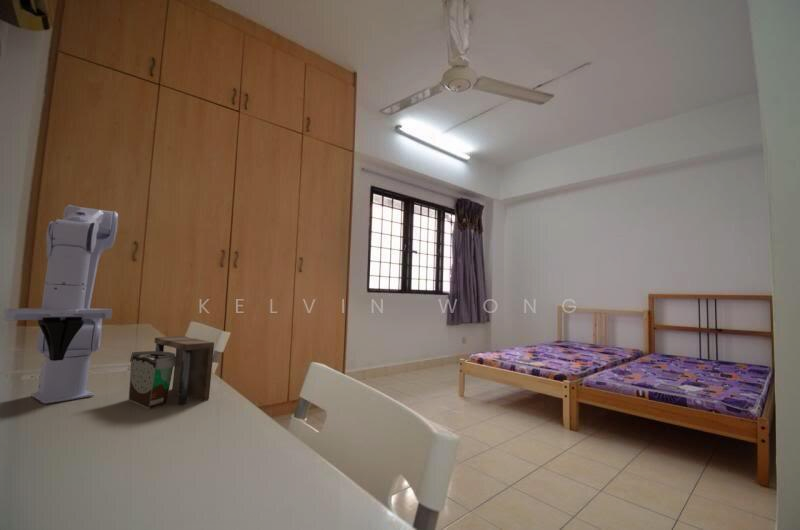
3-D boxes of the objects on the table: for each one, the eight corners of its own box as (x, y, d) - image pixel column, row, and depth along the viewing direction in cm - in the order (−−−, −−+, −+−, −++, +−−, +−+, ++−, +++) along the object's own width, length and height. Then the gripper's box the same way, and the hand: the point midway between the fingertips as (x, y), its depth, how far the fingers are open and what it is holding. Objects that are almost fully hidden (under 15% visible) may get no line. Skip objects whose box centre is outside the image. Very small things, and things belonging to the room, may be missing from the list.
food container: (184, 404, 77) (189, 356, 78) (152, 410, 72) (158, 359, 72) (156, 393, 83) (161, 349, 84) (125, 398, 78) (130, 351, 79)
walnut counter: (148, 393, 83) (155, 337, 84) (176, 388, 88) (181, 336, 89) (180, 405, 75) (186, 344, 76) (208, 399, 80) (214, 342, 81)
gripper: (16, 282, 59) (4, 368, 57) (121, 287, 71) (113, 358, 69) (4, 282, 62) (-8, 362, 61) (106, 286, 74) (98, 353, 73)
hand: (56, 359), depth 65 cm, fingers closed
